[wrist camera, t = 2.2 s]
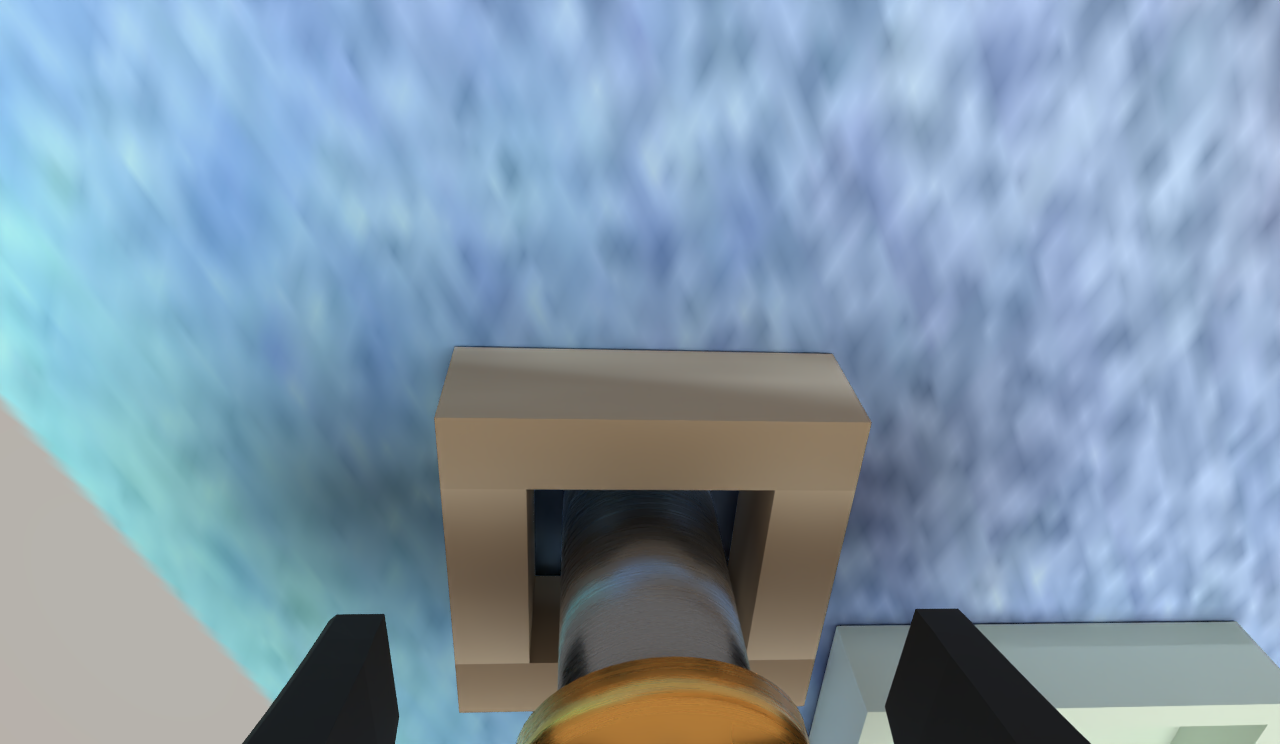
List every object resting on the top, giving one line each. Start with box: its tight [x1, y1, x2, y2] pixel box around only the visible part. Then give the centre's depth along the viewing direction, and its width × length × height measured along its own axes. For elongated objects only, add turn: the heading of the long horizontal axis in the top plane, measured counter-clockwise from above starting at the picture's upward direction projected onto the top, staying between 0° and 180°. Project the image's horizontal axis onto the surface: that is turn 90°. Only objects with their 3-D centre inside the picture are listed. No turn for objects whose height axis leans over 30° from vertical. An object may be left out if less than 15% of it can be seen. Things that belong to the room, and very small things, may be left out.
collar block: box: [434, 347, 872, 713], centre depth 13 cm, size 6×6×2 cm
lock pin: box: [516, 490, 810, 744], centre depth 12 cm, size 4×4×6 cm
